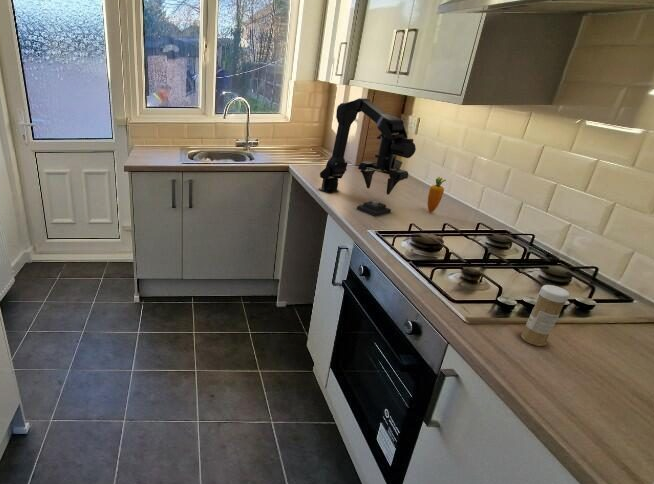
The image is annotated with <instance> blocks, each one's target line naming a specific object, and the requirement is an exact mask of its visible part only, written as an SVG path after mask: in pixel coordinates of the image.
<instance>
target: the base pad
mask: <svg viewBox="0 0 654 484" xmlns="http://www.w3.org/2000/svg"><path fill="white" fill-rule="evenodd" d="M371 201H372V205H375V206H376V205H378V203H380V201H377V200H371ZM356 210H357V211H360V212H363V213H366V214H368V215H371V216H373V217H378V216H382V215H385V214H390V213H391V211H392V208H388V207H386V208H385V209H381V210H377V211H375V210H372V209H369V208H367V207H364V206H363V204H359V205H357V206H356Z"/></svg>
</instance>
